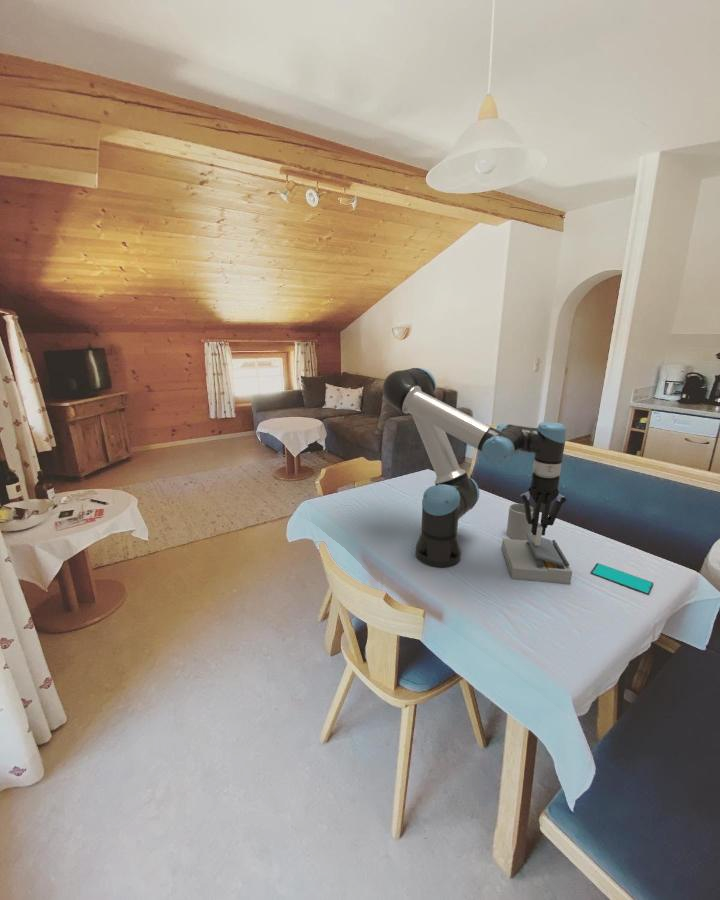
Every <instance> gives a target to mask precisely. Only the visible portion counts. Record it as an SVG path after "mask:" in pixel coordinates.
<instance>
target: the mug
mask: <svg viewBox="0 0 720 900" xmlns="http://www.w3.org/2000/svg"><path fill="white" fill-rule="evenodd" d="M533 509H534V507H532V506H530V512H531V518H532V517H533ZM506 526H507V527H506V535H507V537H509V539H516V540H528V539H527V537H526V533H529V534H532V532H531V529H532V524H528V522H527V520H526V515H525V508H524V503H512V504H510V506H509V508H508V517H507V524H506ZM532 535H533V534H532Z"/></svg>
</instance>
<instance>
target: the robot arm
mask: <svg viewBox="0 0 720 900" xmlns="http://www.w3.org/2000/svg"><path fill="white" fill-rule="evenodd" d="M436 387H437V383H436V380H435V377H434V375H433V374H432V373H431V372H430V370H427V369H425V368H419V367H413V368H412V367H411V368H409V369H403V370H396V371H393V372H391V373H390V374H388V375H387V376H386V378H385V379H384V381H383V384H382V394H383V397H384V399H385V400H386V401H387V403H388V404H389V405H391V406H392V407H393V408H395V409H397V410H398V411H400V412H402V413H403V414H410V415H411V417H412V419H413V421H414V424H415V426H416V429H417V431H418V433H419V436H420V438H421V441H422V444H423V447H424V448H425V451H426V453H427V455H428V459H429V460H430V463H431V465H432V468H433V472H434V473H435V476H436V478H435V480H434V485H431V486H429V487H428V488H426V490H424V492H423V496H422V500H421V507H422V508H421V509H422V510H421V533H420V535H419V537H418V540H417V542H416V545H415V556H416V558H417V559H418V561H420V563H423V564H425V565H428V566H430V567H435V568H448V567H453V566H455V565H457V564H459V562H460V561H461V559H462V549H461V544H460V541H459V538H458V528H459V527H458V526H459V525H458V524H459V520H460V518H462V517H463V516H464V515H465V514H467V513H468V512H469V511H470V510H472V509H473V508H474V507H475V505H476V504H477V502H478V501H479V498H480V488H479V486H478V483H477V482H476V481H475V480H474V479H473V478H471V477H470V476H469V475H468V473H467V471H466V470H464V469H463V468H461V467H460V465H459V462H458V461H457V457H456V455H455V453H454V451H453V448H452V447H453V446H452V444H451V443H450V440H449V438H448V435H447V434H449V435H450V436H452V437H454V438H456V439H458V440H460V441H461V442H464V443H465V444H468V445H469V446H471V447H473V448H474V449H476V450H478V451H480V452H481V453H482V456H483V457H484V459H485V460H486V461H487V462H489V463H491V464H494V465H499V464H503V463H504V462H506V461H509V460H510V459H511V458H513V456H514V455H515V454H517V453H518V452H524V453H530V454H534V459H533V465H532V473H531V482H530V487H529V488H528V491H526V492H520V497H521V498H522V501H523V504H524V508H525V515H526V520H527V522H528V524H532V529H531V532H532V535H534V537H533V542H534V544H535V546H540V543H541V537H543V536H545V535H546V529H547V528H548V526H553V525H554V524H555V521H556V519H557V517H558V514H559V512H560V510H561V507H562V506H563V504H564V503H565V502H566V501H567V498H566V497H565V496H564V495H563V494H561V493H560V491H559V484H560V475H561V472H562V471H561V470H562V464H563V456H564V451H565V446H566V445H565V444H566V436H567V435H566V434H567V427H566V426H565V425H564V424H563V423H560V422H556V421H555V422H554V421H543V422H540V423H538V426H537V427H529V426H523V425H515V424H511V423H508V424H507V423H504V424H503V423H501V424H498V425H497V426H496V428H494V427H492V426H490V425H488V424H486V423H484V422H483V421H480V420H478V419H477V418H475V417H473V416H471V415H469V414H467V413H465V412H463V411H461V410H459V409H457V408H455V407H453V406H451V405H450V404H447V403H446V402H444V401H441V400H439V399H438V398H437V397H436V394H435V391H436ZM530 497H532V500H533V503H534V504H533V517H532V518H531V512H530V501H529V500H530ZM553 501H554V503H553V505H552V507H551V504H552V502H553ZM541 508H542V510H541ZM550 508H551V509H550ZM540 513H541V517H540ZM539 521H540V523H539Z"/></svg>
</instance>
